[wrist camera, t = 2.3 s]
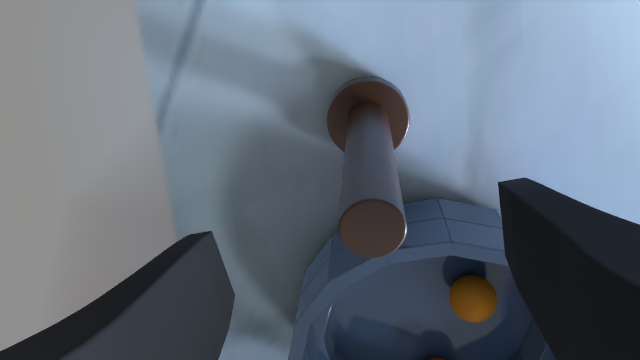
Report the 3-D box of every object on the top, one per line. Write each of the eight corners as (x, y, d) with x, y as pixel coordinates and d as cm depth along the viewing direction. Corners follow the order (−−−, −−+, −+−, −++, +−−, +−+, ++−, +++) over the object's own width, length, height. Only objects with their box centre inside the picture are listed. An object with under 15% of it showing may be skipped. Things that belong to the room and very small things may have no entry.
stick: (401, 68, 19) (432, 154, 11) (413, 145, 20) (450, 276, 12) (320, 85, 19) (289, 180, 11) (337, 159, 21) (320, 294, 12)
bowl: (555, 172, 20) (598, 219, 17) (564, 389, 25) (599, 463, 21) (271, 219, 22) (254, 270, 18) (329, 412, 27) (324, 483, 23)
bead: (489, 262, 22) (500, 290, 20) (492, 299, 22) (504, 329, 21) (442, 269, 22) (450, 297, 20) (448, 305, 23) (455, 335, 21)
